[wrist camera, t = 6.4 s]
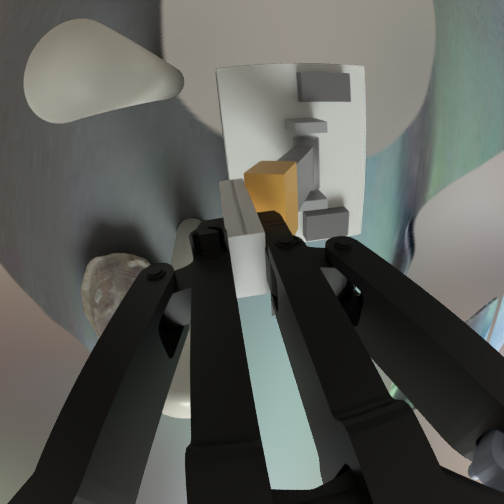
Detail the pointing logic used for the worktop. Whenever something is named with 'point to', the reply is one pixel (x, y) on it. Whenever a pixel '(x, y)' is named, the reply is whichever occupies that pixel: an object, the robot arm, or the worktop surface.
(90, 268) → the seashell
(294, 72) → the panel
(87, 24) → the post near
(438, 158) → the worktop surface
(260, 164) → the breaker lever
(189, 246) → the post far
